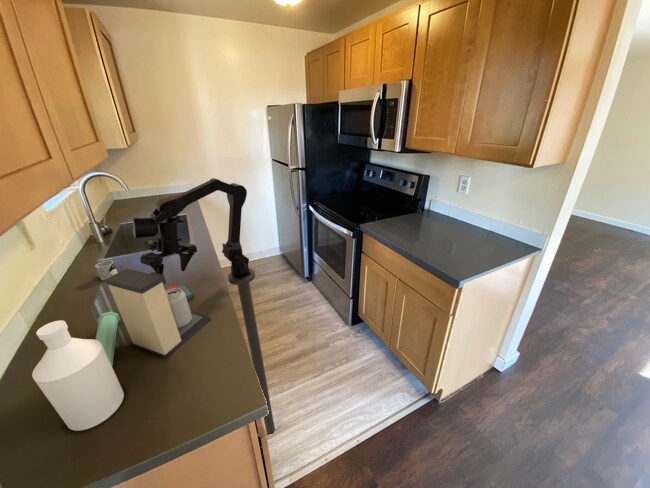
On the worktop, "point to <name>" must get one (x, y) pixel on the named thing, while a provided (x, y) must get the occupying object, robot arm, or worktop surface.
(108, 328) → the container
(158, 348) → the coffee maker
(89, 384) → the bottle
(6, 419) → the worktop surface
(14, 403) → the worktop surface
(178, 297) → the can
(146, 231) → the robot arm
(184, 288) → the control block
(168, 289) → the button
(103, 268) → the mug
